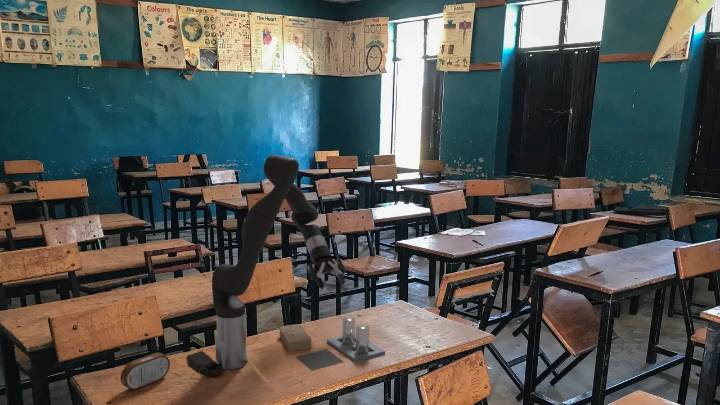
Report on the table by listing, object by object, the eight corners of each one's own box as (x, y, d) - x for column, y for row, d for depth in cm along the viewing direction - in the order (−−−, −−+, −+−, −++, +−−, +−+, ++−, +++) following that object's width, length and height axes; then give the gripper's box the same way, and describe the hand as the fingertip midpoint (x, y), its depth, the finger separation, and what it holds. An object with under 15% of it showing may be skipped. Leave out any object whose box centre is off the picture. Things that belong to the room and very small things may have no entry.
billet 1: (346, 349, 188) (346, 322, 187) (339, 345, 192) (339, 318, 191) (357, 346, 191) (357, 320, 189) (350, 342, 195) (350, 316, 193)
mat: (311, 373, 170) (311, 370, 170) (295, 359, 180) (295, 356, 180) (344, 364, 177) (344, 361, 176) (326, 351, 187) (326, 348, 186)
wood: (179, 359, 181) (178, 350, 181) (200, 353, 186) (200, 344, 185) (204, 384, 164) (204, 374, 164) (227, 377, 169) (227, 367, 168)
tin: (166, 373, 170) (165, 348, 168) (172, 376, 168) (171, 350, 167) (120, 391, 158) (118, 364, 157) (126, 395, 156) (124, 367, 155)
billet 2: (360, 359, 181) (361, 330, 179) (352, 354, 184) (353, 326, 183) (371, 356, 183) (372, 328, 182) (363, 351, 187) (364, 323, 186)
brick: (278, 337, 200) (278, 325, 199) (300, 334, 203) (300, 322, 202) (289, 355, 185) (288, 342, 184) (312, 351, 187) (312, 338, 187)
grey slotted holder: (355, 364, 176) (355, 359, 176) (327, 344, 192) (327, 339, 192) (384, 356, 183) (385, 351, 183) (355, 337, 199) (355, 332, 198)
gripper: (304, 246, 199) (319, 284, 192) (337, 242, 207) (353, 278, 199) (298, 257, 205) (312, 294, 197) (331, 252, 212) (345, 288, 204)
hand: (333, 286), depth 198 cm, fingers open, 8 cm apart
